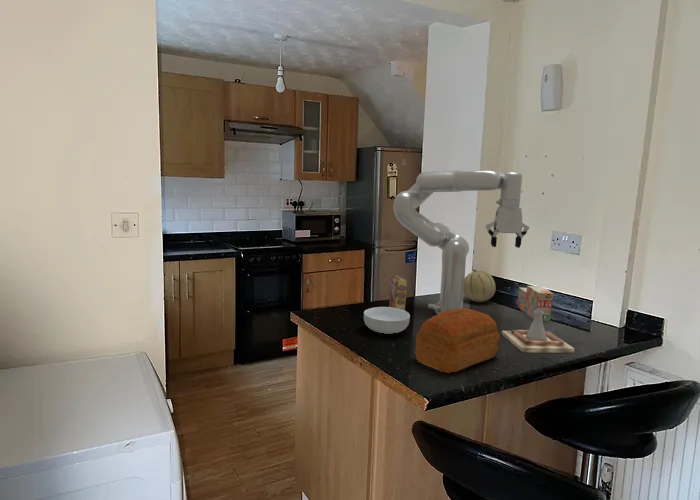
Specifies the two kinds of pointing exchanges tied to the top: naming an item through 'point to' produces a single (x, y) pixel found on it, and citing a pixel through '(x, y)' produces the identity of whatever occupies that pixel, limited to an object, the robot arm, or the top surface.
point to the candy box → (398, 292)
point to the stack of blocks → (535, 301)
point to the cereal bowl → (386, 319)
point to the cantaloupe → (479, 286)
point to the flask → (537, 328)
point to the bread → (456, 340)
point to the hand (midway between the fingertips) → (505, 246)
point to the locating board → (537, 342)
